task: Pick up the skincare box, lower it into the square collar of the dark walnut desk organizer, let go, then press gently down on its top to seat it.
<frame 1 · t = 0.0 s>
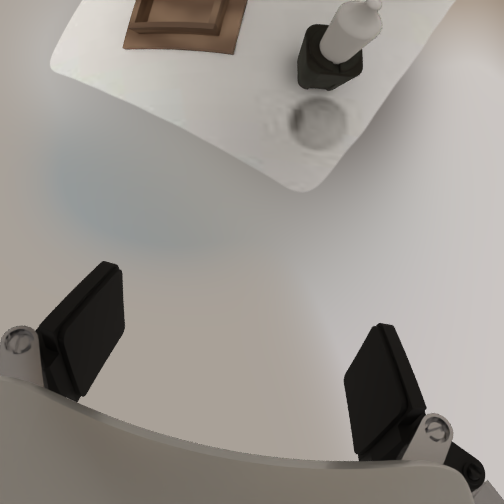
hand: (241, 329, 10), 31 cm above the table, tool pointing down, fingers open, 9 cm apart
organizer: (189, 1, 28), on the table
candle: (317, 71, 32), on the table
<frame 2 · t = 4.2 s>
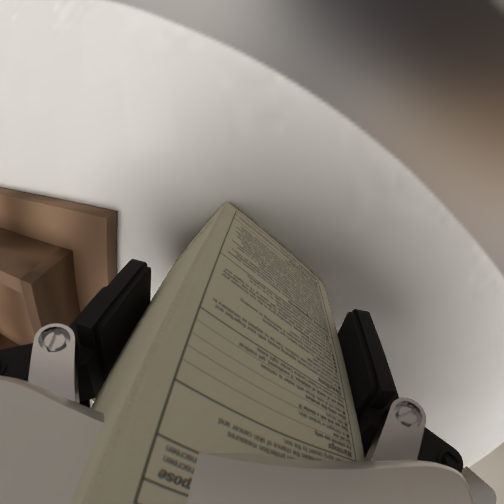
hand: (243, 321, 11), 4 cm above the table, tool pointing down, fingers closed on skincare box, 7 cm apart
organizer: (29, 299, 16), on the table
skincare box: (252, 272, 14), on the table, touching gripper
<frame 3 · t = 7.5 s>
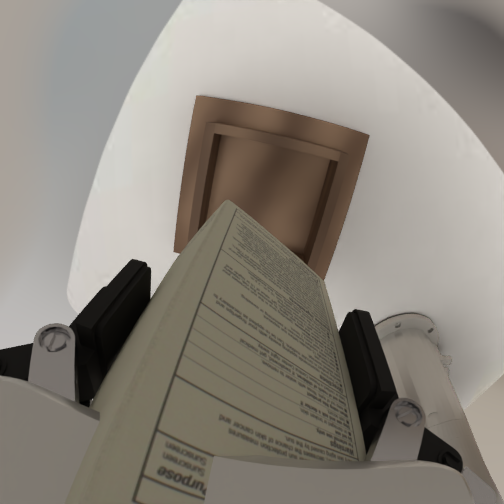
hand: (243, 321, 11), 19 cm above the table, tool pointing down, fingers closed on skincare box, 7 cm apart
organizer: (265, 192, 28), on the table
skincare box: (253, 270, 14), point 16 cm above the table, touching gripper
when the fingers open (6 cm above the table, at t = 10.4 s): skincare box drops 1 cm, resting on organizer.
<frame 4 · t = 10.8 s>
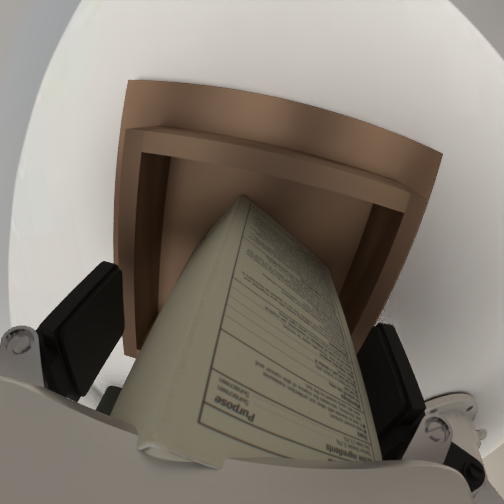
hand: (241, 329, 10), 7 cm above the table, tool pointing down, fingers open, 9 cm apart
organizer: (255, 250, 16), on the table
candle: (134, 403, 24), on the table
skincare box: (264, 259, 15), point 1 cm above the table, touching organizer
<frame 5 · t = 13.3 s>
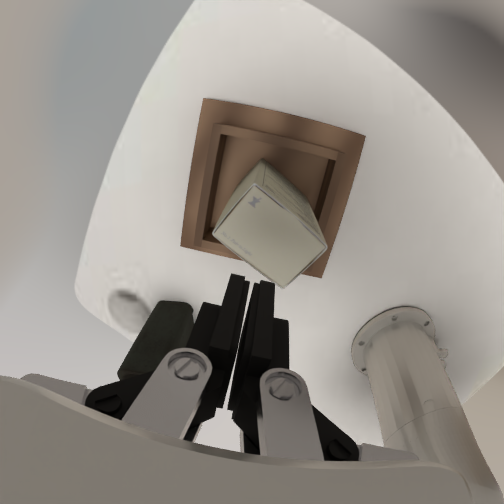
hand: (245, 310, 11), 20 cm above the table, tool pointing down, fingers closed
organizer: (267, 189, 30), on the table
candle: (176, 316, 38), on the table
skincare box: (272, 192, 29), point 1 cm above the table, touching organizer
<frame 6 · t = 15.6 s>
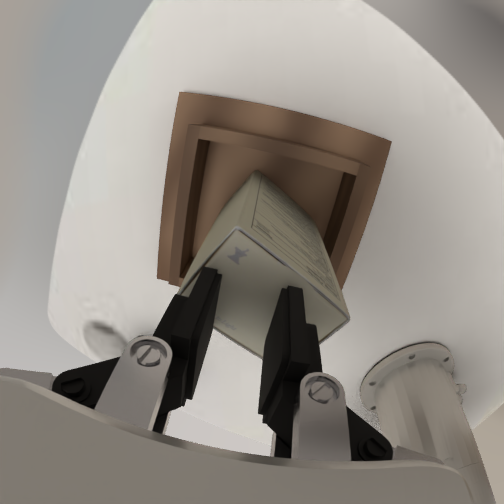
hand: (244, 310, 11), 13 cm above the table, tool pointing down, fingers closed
organizer: (264, 209, 23), on the table
skincare box: (270, 214, 23), point 1 cm above the table, touching organizer
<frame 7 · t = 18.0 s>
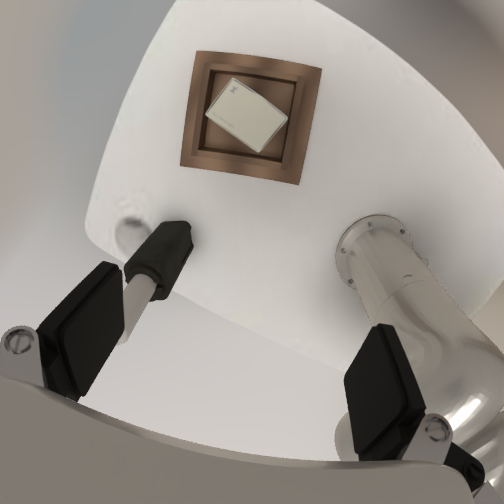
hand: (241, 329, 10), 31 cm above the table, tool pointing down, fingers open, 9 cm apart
organizer: (248, 114, 35), on the table
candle: (176, 236, 44), on the table
skincare box: (252, 115, 35), point 1 cm above the table, touching organizer
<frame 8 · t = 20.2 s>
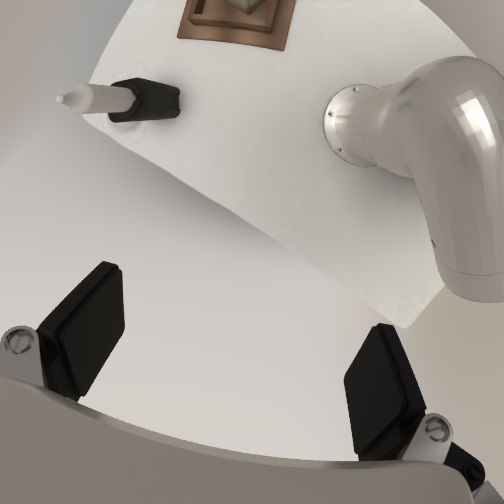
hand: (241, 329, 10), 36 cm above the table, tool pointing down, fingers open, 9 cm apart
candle: (165, 103, 40), on the table
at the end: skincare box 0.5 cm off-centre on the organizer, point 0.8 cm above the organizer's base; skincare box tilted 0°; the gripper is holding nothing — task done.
